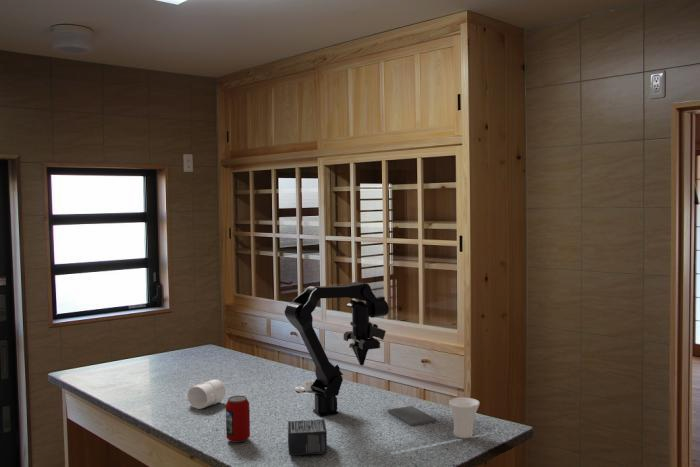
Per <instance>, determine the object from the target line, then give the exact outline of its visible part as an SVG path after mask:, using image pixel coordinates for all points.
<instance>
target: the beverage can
mask: <svg viewBox="0 0 700 467" xmlns="http://www.w3.org/2000/svg"><path fill="white" fill-rule="evenodd" d="M250 417H251V415H250V402H249V400H248V398H247V396H246V395H233V396H229V397H228V398H227V401H226V403H225V423H226V424H225V427H226V428H225V431H226V439H227V440H229V441H230V442H233V443H242V442H245V441H247V440H248V439H249V438H250V436H251V420H250V419H251V418H250Z"/></svg>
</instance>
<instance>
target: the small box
mask: <svg viewBox="0 0 700 467" xmlns="http://www.w3.org/2000/svg"><path fill="white" fill-rule="evenodd" d="M327 435H328V434H327V428H326V422H325V419H312V420H311V419H309V420H289V421H288V422H287V444H288V445H287V446H288V447H287V448H288V455H289V456H291V455H293V456H295V455H296V456H297V455H314V454H315V455H317V454H327V453H328V451H327V450H328V448H327V447H328V446H327V444H328V443H327V442H328V440H327V439H328V438H327Z"/></svg>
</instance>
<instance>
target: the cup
mask: <svg viewBox="0 0 700 467" xmlns="http://www.w3.org/2000/svg"><path fill="white" fill-rule="evenodd" d="M480 403H481V402H480V401H479V400H477V399H475V398H471V397H455V398H451V399H450V400H449V401H448V404H449V406H450V410H451V415H452V418H453V420H452V421H453V435H454V437H456V438H460V439H469V438H472V437H473V435H474V423H475V422H474V420H475V418H476V415H477V411H478V409H479V407H480Z"/></svg>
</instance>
